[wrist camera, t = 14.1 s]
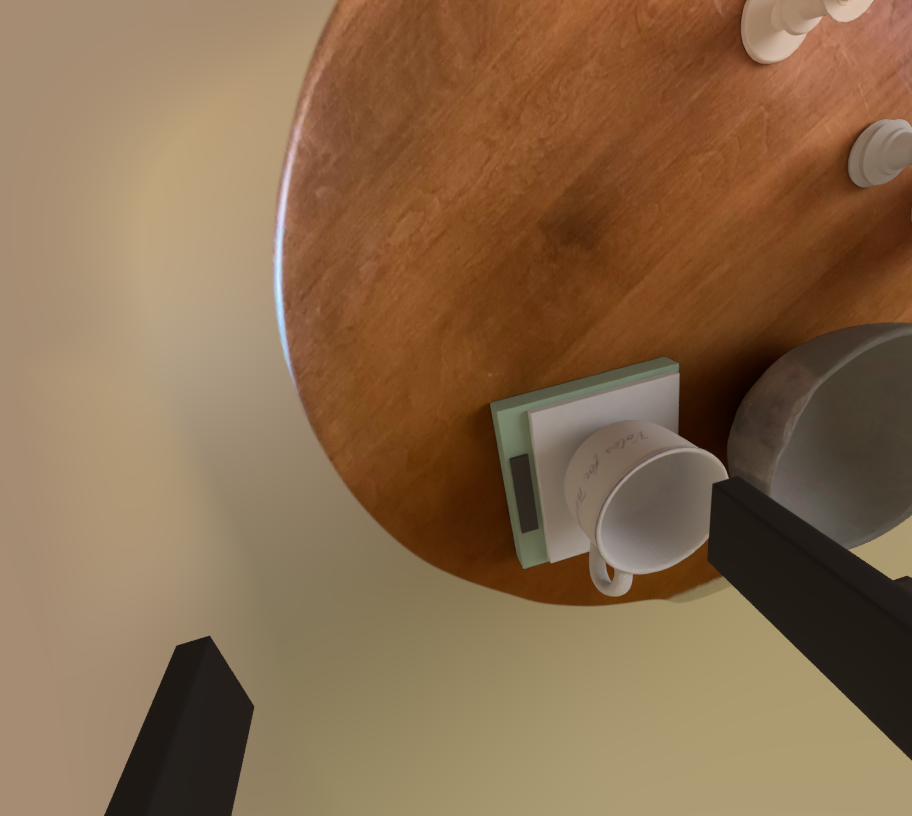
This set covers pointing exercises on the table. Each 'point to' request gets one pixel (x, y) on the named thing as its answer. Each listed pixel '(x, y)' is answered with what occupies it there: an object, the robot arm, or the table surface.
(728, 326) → the table surface
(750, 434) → the bowl
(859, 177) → the chess piece
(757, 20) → the candle
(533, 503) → the scale
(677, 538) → the teacup
